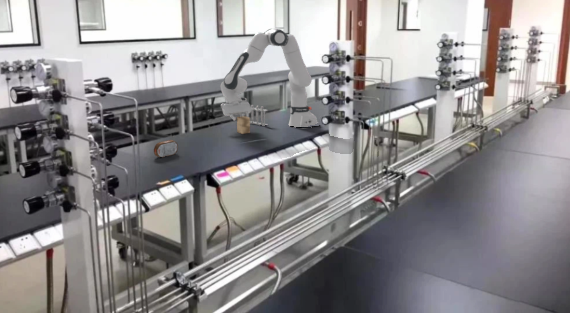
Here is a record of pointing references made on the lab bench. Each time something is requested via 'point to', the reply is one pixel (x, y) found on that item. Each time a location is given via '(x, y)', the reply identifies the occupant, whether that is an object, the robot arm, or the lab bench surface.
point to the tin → (165, 148)
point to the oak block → (243, 124)
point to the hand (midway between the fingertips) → (241, 119)
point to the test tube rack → (257, 115)
